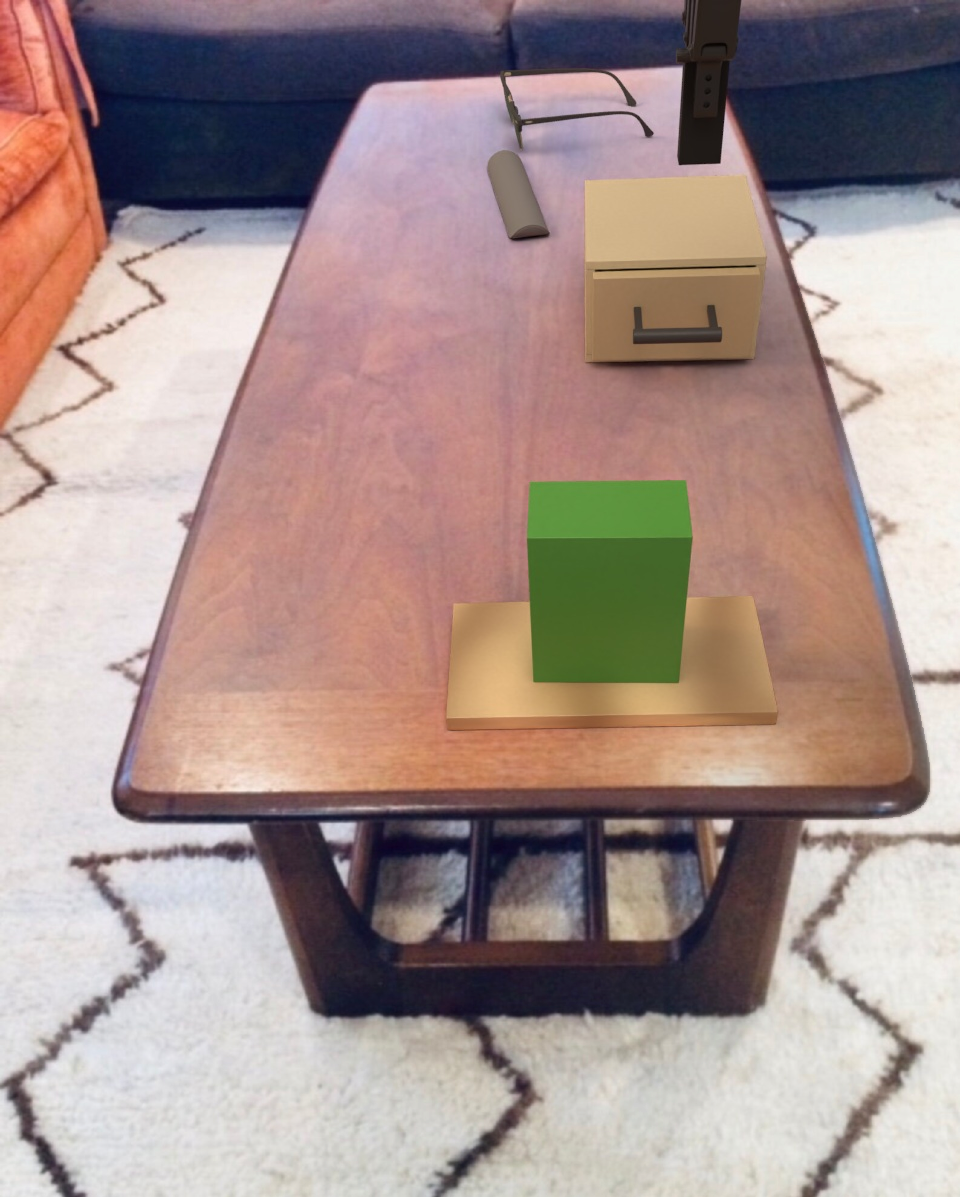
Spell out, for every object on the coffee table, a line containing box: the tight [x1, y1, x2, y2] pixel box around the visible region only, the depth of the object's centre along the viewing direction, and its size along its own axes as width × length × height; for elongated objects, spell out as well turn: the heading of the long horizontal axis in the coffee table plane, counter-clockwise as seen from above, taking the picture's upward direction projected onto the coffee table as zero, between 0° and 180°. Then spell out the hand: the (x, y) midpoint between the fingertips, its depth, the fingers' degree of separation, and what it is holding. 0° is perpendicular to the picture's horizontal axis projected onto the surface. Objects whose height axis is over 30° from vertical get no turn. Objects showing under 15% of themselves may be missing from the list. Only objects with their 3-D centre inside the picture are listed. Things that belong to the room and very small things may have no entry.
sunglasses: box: [499, 67, 655, 151], centre depth 132 cm, size 16×17×5 cm
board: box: [445, 595, 779, 731], centre depth 70 cm, size 20×10×1 cm, turn 88°
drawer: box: [592, 265, 760, 361], centre depth 95 cm, size 19×13×8 cm
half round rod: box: [486, 149, 550, 239], centre depth 120 cm, size 4×20×2 cm, turn 7°
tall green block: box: [526, 479, 694, 683], centre depth 66 cm, size 5×9×12 cm, turn 86°
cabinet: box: [583, 174, 768, 363], centre depth 98 cm, size 16×15×10 cm
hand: (698, 159), depth 72 cm, fingers closed
